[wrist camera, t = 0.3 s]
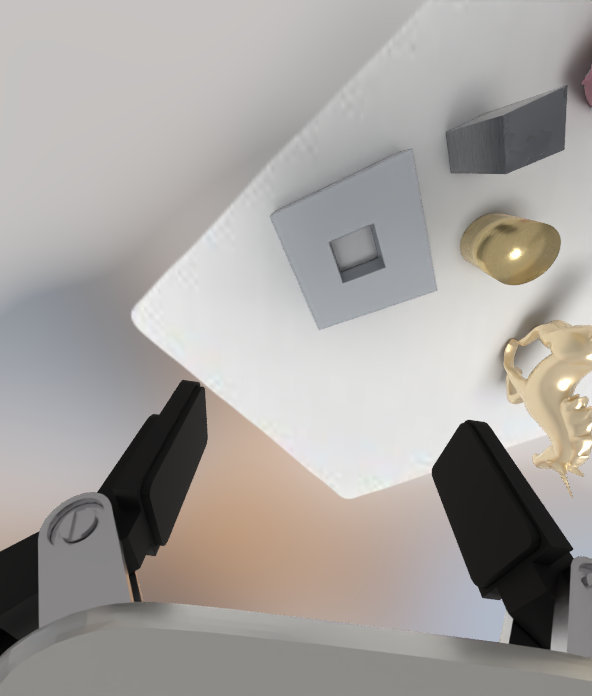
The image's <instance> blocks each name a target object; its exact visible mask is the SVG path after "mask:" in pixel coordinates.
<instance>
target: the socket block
mask: <svg viewBox="0 0 592 696" xmlns="http://www.w3.org/2000/svg"><path fill="white" fill-rule="evenodd" d="M270 218H271V221H272V223H273V225H274V228H275V230H276V232H277V234H278V237H279V239H280V241H281V244H282V246H283V248H284V251H285V253H286V255H287V258H288V260H289V262H290V264H291V267H292V269H293V271H294V274H295V276H296V278H297V281H298V283H299V285H300V288H301V290H302V292H303V294H304V297H305V299H306V301H307V304H308V306H309V308H310V311H311V313H312V315H313V318H314V320H315V322H316V324H317V327H318V329H319V330H321V329H324V328H327V327H330V326H333V325H336V324H339V323H342V322H345V321H348V320H351V319H354V318H357V317H360V316H363V315H366V314H369V313H372V312H375V311H378V310H381V309H383V308H386V307H389V306H392V305H395V304H398V303H401V302H404V301H407V300H410V299H413V298H416V297H419V296H422V295H425V294H428V293H431V292H434V291H437V286H436V280H435V274H434V269H433V263H432V257H431V252H430V246H429V241H428V235H427V229H426V224H425V218H424V212H423V207H422V201H421V196H420V190H419V184H418V179H417V173H416V168H415V162H414V156H413V151H412V149H408V150H404V151H400V152H398V153H396V154H394V155H392V156H390V157H388V158H386V159H384V160H381V161H379V162H377V163H375V164H373V165H371V166H369V167H367V168H365V169H363V170H361V171H358V172H356V173H354V174H352V175H350V176H348V177H346V178H344V179H342V180H340V181H338V182H335V183H333V184H331V185H329V186H327V187H325V188H323V189H321V190H319V191H317V192H315V193H312V194H310V195H308V196H306V197H304V198H302V199H300V200H298V201H296V202H294V203H292V204H289V205H287V206H285V207H283V208H281V209H279V210H277V211H275V212H274V213H273V214H272V215H271V216H270ZM368 225H370V226H371V230H372V233H373V237H374V241H375V245H376V248H377V252H378V256H379V258H377V259H375V260H372V261H369V262H367V263H364V264H362V265H359V266H357V267H354V268H351V269H349V270H346V271H344V272H340V269H339V267H338V264H337V261H336V258H335V255H334V252H333V249H332V246H331V244H330V241H332V240H335V239H337V238H340V237H342V236H344V235H347V234H349V233H351V232H354V231H356V230H359V229H361V228H363V227H366V226H368Z"/></svg>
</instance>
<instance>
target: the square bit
mask: <svg viewBox="0 0 592 696" xmlns="http://www.w3.org/2000/svg"><path fill="white" fill-rule="evenodd" d="M566 104H567V85H566V86H563V87H560V88H557V89H555V90H552V91H549V92H546V93H543V94H540V95H537V96H534V97H531V98H528V99H525V100H522V101H520V102H517V103H514V104H511V105H508V106H505V107H502V108H499V109H496V110H493V111H490V112H487V113H485V114H483V115H481V116H479V117H477V118H475V119H473V120H471V121H468V122H466V123H464V124H462V125H460V126H458V127H456V128H454V129H452V130H450V131H447V132H446V138H447V146H448V154H449V162H450V170H451V173H480V174H507V173H509V172H512V171H514V170H517V169H519V168H521V167H524V166H526V165H529V164H531V163H533V162H536V161H538V160H541V159H543V158H545V157H548V156H550V155H553V154H555V153H557V152H560V151H562V150H564V145H565V125H566Z"/></svg>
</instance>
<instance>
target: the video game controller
mask: <svg viewBox="0 0 592 696" xmlns="http://www.w3.org/2000/svg"><path fill="white" fill-rule="evenodd" d="M581 84H583V85H585V95H586V98H587V100H588V103H589V104H590V105H591V106H592V64H591V69H590V70H589V72H588V73H587V75H586V77H585V78H584V80H583V81H582V83H581Z"/></svg>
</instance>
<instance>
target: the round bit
mask: <svg viewBox="0 0 592 696" xmlns="http://www.w3.org/2000/svg"><path fill="white" fill-rule="evenodd" d="M560 245H561V240H560V236H559V233H558V232H557V230H556V229H555V228H554V227H552V226H551V225H548V224H545V223H541V222H536V221H532V220H528V219H524V218H520V217H515V216H511V215H507V214H503V213H489V214H486V215H483V216H481V217H480V218H478V219H476V220H475V221H474V222H473V223H472V224H471V225H470V226H469V227H468V228H467V229H466V231H465V232H464V234H463V236H462V239H461V244H460V250H461V254H462V256H463V258H464V259H465V260H466V261H467V262H469V263H471V264H472V265H474V266H476V267H477V268H479V269H480V270H482V271H484V272H485V273H487V274H488V275H490V276H492V277H493V278H495V279H497V280H498V281H500V282H502V283H504V284H507V285H520V284H524V283H527V282H530V281H532V280H534V279H536V278H537V277H539V276H540V275H542V274H543V273H544V272H545V271H547V270H548V269H549V268H550V266H551V265H552V264H553V262H554V261H555V259H556V258H557V256H558V253H559V250H560Z"/></svg>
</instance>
